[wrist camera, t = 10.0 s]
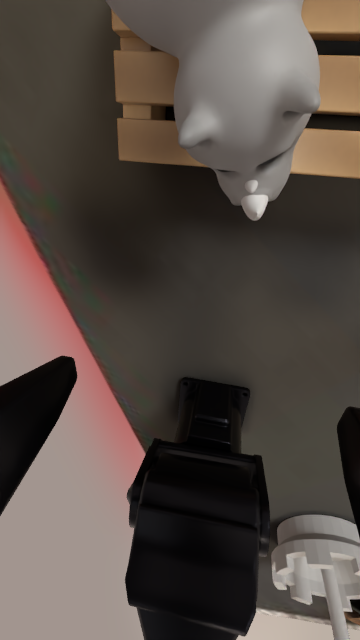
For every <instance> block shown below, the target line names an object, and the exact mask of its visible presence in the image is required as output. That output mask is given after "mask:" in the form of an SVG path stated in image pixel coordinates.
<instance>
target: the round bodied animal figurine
mask: <svg viewBox="0 0 360 640" xmlns="http://www.w3.org/2000/svg"><path fill="white" fill-rule="evenodd" d="M105 1H106V2H107V4H108V5H109V6H110V8H111V9H112V10H113V11H114V13H115V14H116V15H117V16H118V17H119V18H120V19H121V21H122V22H123V23H124V24H125V25H126V26H127V27H128V28H129V29H130V30H131V31H133V32H134V33H135V34H136V35H137V36H139V37H140V38H141V39H143V40H144V41H145V42H147V43H148V44H150V45H151V46H153V47H155V48H157V49H159V50H162V51H164V52H166V53H168V54H170V55H172V56H174V57H177V58H178V59H179V69H178V73H177V77H176V82H175V88H174V114H175V121H176V126H177V130H178V133H179V135H178V143H179V146H180V147H182V148H184V149H186V150H187V152H188V153H189V154H190V156H191V157H192V158H194V159H195V160H196V161H198V162H200V163H202V164H204V165H205V166H208V167H210V168H211V169H213V170H214V171H215V172H216V175H217V178H218V182H219V185H220V187H221V188H222V190H223V191H224V193H225V194H226V195H227V196H228V198H229V199H230V201H231V203H232V204H233V205H236V206H239V205H242V207H243V210H244V212H245V213H246V215H247V216H248V217H249V218H250V219H251V220H253V221H256V220H259V219H260V218H261V216H262V215H263V213H264V211H265V208H266V206H267V202H268V201H273V200H275V199H276V198H277V197H278V196H279V194H280V192H281V190H282V189H283V187H284V185H285V184H286V182H287V180H288V177H289V174H290V171H291V167H292V159H293V152H294V148H295V146H296V144H297V142H298V140H299V138H300V136H301V134H302V132H303V130H304V128H305V126H306V124H307V123H308V121H309V118H310V116H311V114H312V113H314V112H316V111H317V110H318V108H319V107H320V100H321V98H320V94H319V83H320V66H319V58H318V53H317V49H316V46H315V44H314V41H313V39H312V37H311V36H310V34H309V32H308V30H307V28H306V27H305V25H304V23H303V20H302V17H301V11H302V5H303V1H304V0H105Z"/></svg>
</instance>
